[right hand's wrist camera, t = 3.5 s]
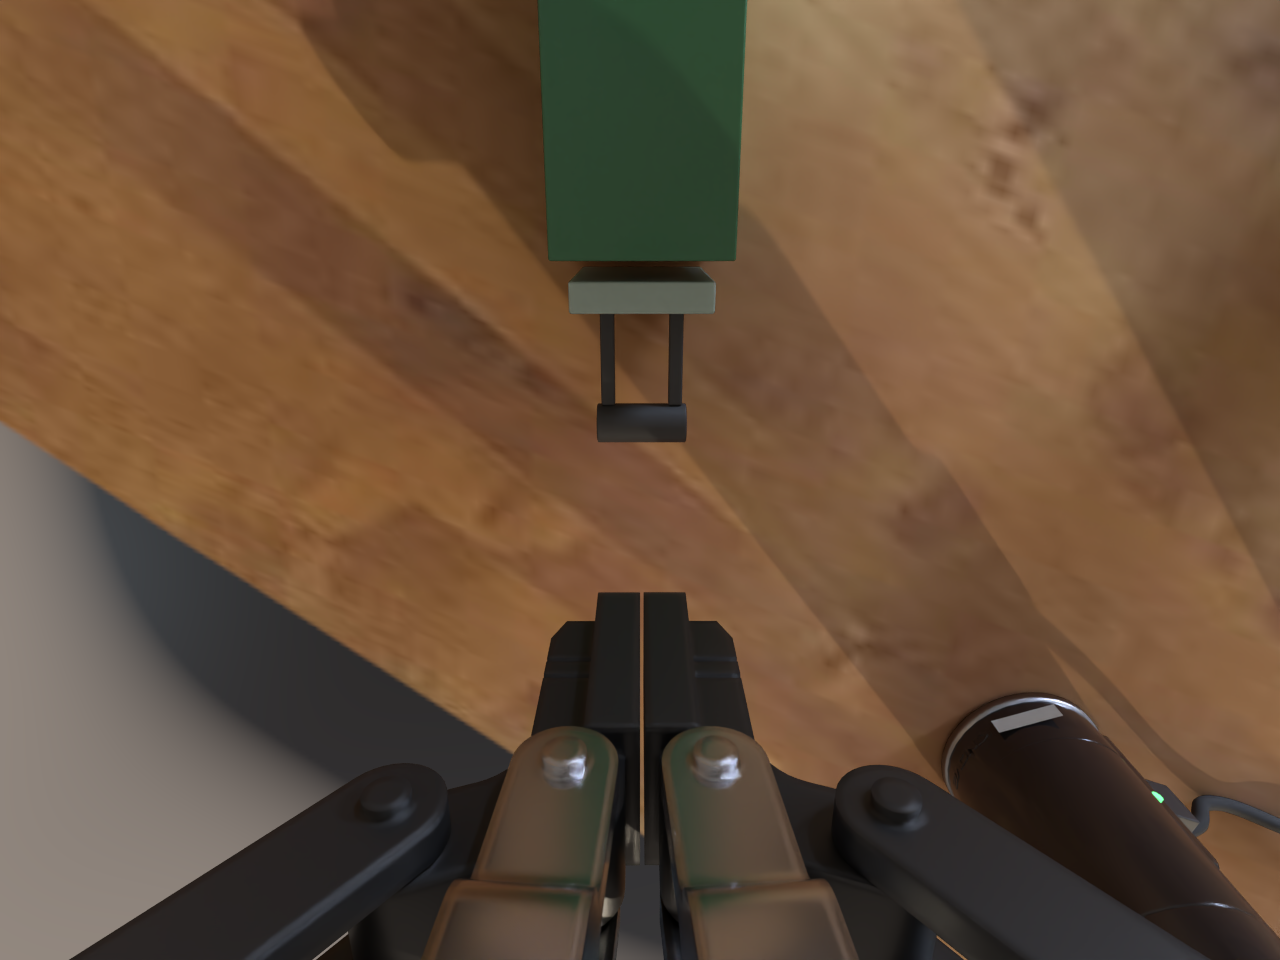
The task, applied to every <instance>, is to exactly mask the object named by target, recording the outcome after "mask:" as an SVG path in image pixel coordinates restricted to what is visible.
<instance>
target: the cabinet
mask: <svg viewBox="0 0 1280 960" xmlns="http://www.w3.org/2000/svg"><path fill="white" fill-rule="evenodd" d="M537 2H538V25H539V49H540V73H541V97H542V121H543V145H544V169H545V193H546V217H547V240H548V259H549V261H735V260H736V245H737V222H738V199H739V176H740V153H741V130H742V107H743V84H744V61H745V38H746V15H747V0H537Z"/></svg>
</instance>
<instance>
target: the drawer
mask: <svg viewBox="0 0 1280 960" xmlns="http://www.w3.org/2000/svg"><path fill="white" fill-rule="evenodd" d="M568 294H569V312H570V314H600V346H601V399H602V403H599V404H598V405H597V440H598V442H685V441H686V432H687V411H686V404H685V403H682V371H683V321H684V314H713V313H714V312H715V294H716V283H715V281H714V280H713V279H712V278H711V277H710V276H709V275H708V274H707V273H706V272H705V271H704V270H703V269H702V268H701V267H583V268H582V269H581V270H580V271H579V272H578V273H577V274H576V275H575V276H574V277H573V278H572V279H571V280H570V281H569V283H568ZM614 314H669V372H668V403H615V338H614Z"/></svg>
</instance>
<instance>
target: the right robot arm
mask: <svg viewBox="0 0 1280 960" xmlns="http://www.w3.org/2000/svg"><path fill="white" fill-rule="evenodd" d="M643 692H644V838H645V865H659V870H660V927H661V937H662V946H663V955H664V960H964V959H962V958H961V957H960V956H959V955H957V954H956V953H955V952H954V951H952V950H951V949H950V948H949V947H947V946H946V945H945V944H944V943H942V942H941V941H940V940H939V939H937V938H936V936H937V935H938V936H939V937H940V938H941V939H943V940H944V941H945V942H946V943H948V944H949V945H950V946H951V947H953V948H954V949H955V950H956V951H958V952H959V953H960V954H961V955H963V956H964V957H965V958H966V959H968V960H1280V938H1279V937H1278V936H1277V935H1276V933H1275V932H1274V931H1273V930H1272V929H1271V928H1270V927H1269V926H1268V925H1267V924H1266V923H1265V921H1264V920H1263V919H1262V918H1261V917H1260V916H1259V915H1258V913H1257V912H1256V911H1255V910H1254V909H1253V908H1252V907H1251V905H1250V904H1249V903H1248V902H1247V901H1246V900H1245V899H1244V897H1243V896H1242V895H1241V894H1240V893H1239V892H1238V891H1237V889H1236V888H1235V887H1234V886H1233V885H1232V884H1231V883H1230V881H1229V880H1228V879H1227V878H1226V877H1225V876H1224V875H1223V873H1222V872H1221V871H1220V870H1219V865H1218V862H1217V861H1216V859H1215V858H1214V857H1213V856H1212V855H1211V854H1210V853H1209V851H1208V850H1207V849H1206V848H1205V847H1204V846H1203V845H1202V843H1201V842H1200V841H1199V840H1198V839H1197V838H1196V837H1197V836H1199V835H1201V834H1203V833H1204V832H1205V831H1206V830H1207V829H1208V826H1209V820H1210V817H1209V811H1214V810H1215V811H1224V812H1227V813H1231V814H1234V815H1236V816H1239V817H1242V818H1244V819H1247V820H1249V821H1252V822H1254V823H1256V824H1259V825H1261V826H1263V827H1266V828H1268V829H1270V830H1273V831H1275V832H1277V833H1280V818H1277V817H1275V816H1273V815H1270V814H1268V813H1266V812H1263V811H1261V810H1259V809H1256V808H1254V807H1252V806H1249V805H1247V804H1244V803H1241V802H1238V801H1235V800H1232V799H1229V798H1224V797H1219V796H1212V795H1204V796H1199V797H1197V798H1195V799H1194V800H1193V802H1192V807H1191V812H1190V811H1189V810H1188V809H1187V808H1186V807H1185V806H1184V805H1183V803H1182V802H1181V801H1180V800H1179V799H1178V798H1177V797H1176V796H1175V795H1174V794H1173V792H1172V791H1171V790H1170V789H1169V788H1168V787H1167V786H1165V785H1162V784H1159V783H1156V782H1152V781H1149V780H1146V779H1144V778H1143V777H1142V776H1141V774H1140V773H1139V772H1138V771H1137V770H1136V769H1135V768H1134V766H1133V765H1132V764H1131V763H1130V762H1129V761H1128V760H1127V759H1126V757H1125V756H1124V755H1123V754H1122V753H1121V752H1120V751H1119V750H1118V748H1117V747H1116V746H1115V745H1114V744H1113V743H1112V742H1111V740H1110V739H1109V738H1108V737H1106V736H1103V735H1101V734H1100V732H1099V731H1098V729H1097V727H1096V726H1095V724H1094V723H1093V722H1092V720H1091V719H1090V718H1089V717H1088V716H1087V715H1086V714H1085V713H1084V712H1083V711H1082V710H1081V709H1080V708H1079V707H1078V706H1076V705H1075V704H1073V703H1072V702H1070V701H1068V700H1066V699H1064V698H1061V697H1058V696H1054V695H1050V694H1044V693H1021V694H1015V695H1010V696H1006V697H1003V698H1000V699H997V700H994V701H992V702H989V703H988V704H986V705H984V706H982V707H980V708H978V709H977V710H975V711H974V712H973V713H971V714H970V715H969V716H967V717H966V718H965V719H964V720H963V721H962V722H961V723H960V724H959V725H958V726H957V727H956V729H955V730H954V731H953V733H952V734H951V736H950V738H949V739H948V741H947V743H946V746H945V748H944V752H943V756H942V774H943V778H944V781H945V784H946V786H947V788H948V790H949V792H950V794H951V795H950V794H949V793H947V792H946V791H944V790H943V789H941V788H939V787H938V786H936V785H935V784H933V783H932V782H930V781H928V780H927V779H925V778H923V777H921V776H920V775H918V774H915V773H913V772H911V771H908V770H905V769H902V768H898V767H893V766H886V765H869V766H863V767H859V768H856V769H854V770H852V771H850V772H848V773H847V774H846V775H845V776H843V777H842V778H841V780H840V781H839V783H838V785H837V788H836V789H834V788H830V787H826V786H822V785H818V784H814V783H810V782H806V781H803V780H799V779H797V778H794V777H792V776H790V775H787V774H786V773H784V772H782V771H780V770H779V769H777V768H776V767H775V766H773V765H772V764H771V763H770V762H769V759H768V757H767V755H766V752H765V751H764V750H763V748H762V747H761V746H760V745H759V744H758V743H757V742H756V741H755V740H754V736H753V731H752V727H751V722H750V717H749V713H748V708H747V703H746V699H745V694H744V689H743V685H742V680H741V678H740V671H739V666H738V662H737V657H736V652H735V648H734V643H733V638H732V637H731V636H730V635H729V634H728V633H727V632H726V631H725V630H724V629H723V627H722V626H721V625H720V624H719V623H718V622H717V621H689V619H688V610H687V602H686V594H685V592H644V662H643ZM625 865H640V592H599V593H598V599H597V609H596V618H595V621H567V622H566V623H565V624H564V625H563V626H562V627H561V628H560V629H559V631H558V632H557V633H556V634H555V635H554V636H553V637H552V638H551V642H550V647H549V652H548V657H547V662H546V667H545V671H544V678H543V681H542V686H541V691H540V696H539V701H538V705H537V710H536V715H535V720H534V725H533V730H532V735H531V737H529V738H528V739H527V740H525V741H524V742H523V743H522V744H521V745H520V746H519V747H518V748H517V750H516V751H515V752H514V755H513V757H512V759H511V762H510V765H509V768H508V769H507V770H505V771H503V772H502V773H500V774H498V775H496V776H494V777H491V778H489V779H487V780H483V781H480V782H477V783H473V784H469V785H465V786H461V787H457V788H453V789H449V790H447V787H446V784H445V782H444V780H443V779H442V777H441V776H440V775H439V774H438V773H437V772H435V771H434V770H432V769H430V768H428V767H425V766H422V765H418V764H410V763H400V764H391V765H386V766H382V767H379V768H376V769H373V770H371V771H368V772H366V773H364V774H362V775H360V776H358V777H356V778H355V779H353V780H352V781H350V782H348V783H347V784H345V785H344V786H342V787H341V788H339V789H337V790H336V791H334V792H333V793H331V794H330V795H328V796H327V797H325V798H323V799H322V800H320V801H319V802H317V803H315V804H314V805H312V806H311V807H309V808H308V809H306V810H304V811H303V812H301V813H300V814H298V815H297V816H295V817H293V818H292V819H290V820H289V821H287V822H285V823H284V824H282V825H281V826H279V827H278V828H276V829H275V830H273V831H271V832H270V833H268V834H267V835H265V836H263V837H262V838H260V839H259V840H257V841H256V842H254V843H252V844H251V845H249V846H248V847H246V848H244V849H243V850H241V851H240V852H238V853H237V854H235V855H233V856H232V857H230V858H229V859H227V860H226V861H224V862H222V863H221V864H219V865H218V866H216V867H215V868H213V869H211V870H210V871H208V872H207V873H205V874H204V875H202V876H200V877H199V878H197V879H196V880H194V881H193V882H191V883H189V884H188V885H186V886H185V887H183V888H181V889H180V890H178V891H177V892H175V893H174V894H172V895H171V896H169V897H167V898H166V899H164V900H163V901H161V902H159V903H158V904H156V905H155V906H153V907H152V908H150V909H148V910H147V911H145V912H144V913H142V914H141V915H139V916H137V917H136V918H134V919H133V920H131V921H129V922H128V923H126V924H125V925H123V926H122V927H120V928H118V929H117V930H115V931H114V932H112V933H111V934H109V935H107V936H106V937H104V938H103V939H101V940H100V941H98V942H96V943H95V944H93V945H92V946H90V947H89V948H87V949H85V950H84V951H82V952H81V953H79V954H78V955H76V956H74V957H73V958H71V959H70V960H312V959H314V958H315V957H316V956H317V955H319V954H320V953H321V952H322V951H324V950H325V949H326V948H327V947H329V946H330V945H331V944H332V943H334V942H335V941H336V940H337V939H339V938H340V937H341V936H342V935H344V934H345V933H346V932H347V931H348V935H346V936H345V937H344V938H343V939H341V940H340V941H339V942H338V943H337V944H335V945H334V946H333V947H332V948H330V949H329V950H328V951H326V952H325V953H324V954H323V955H322V956H320V957H319V958H318V959H316V960H616V955H617V946H618V937H619V928H620V906H621V904H622V901H623V898H624V892H625Z"/></svg>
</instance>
